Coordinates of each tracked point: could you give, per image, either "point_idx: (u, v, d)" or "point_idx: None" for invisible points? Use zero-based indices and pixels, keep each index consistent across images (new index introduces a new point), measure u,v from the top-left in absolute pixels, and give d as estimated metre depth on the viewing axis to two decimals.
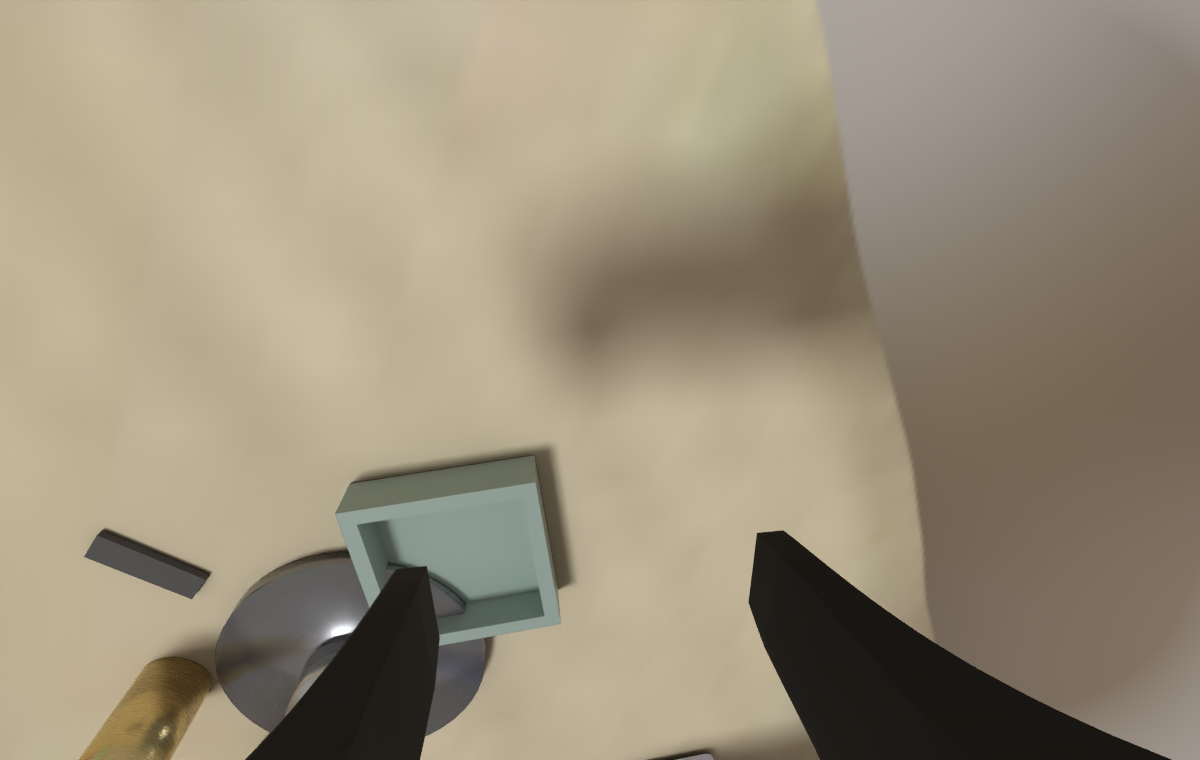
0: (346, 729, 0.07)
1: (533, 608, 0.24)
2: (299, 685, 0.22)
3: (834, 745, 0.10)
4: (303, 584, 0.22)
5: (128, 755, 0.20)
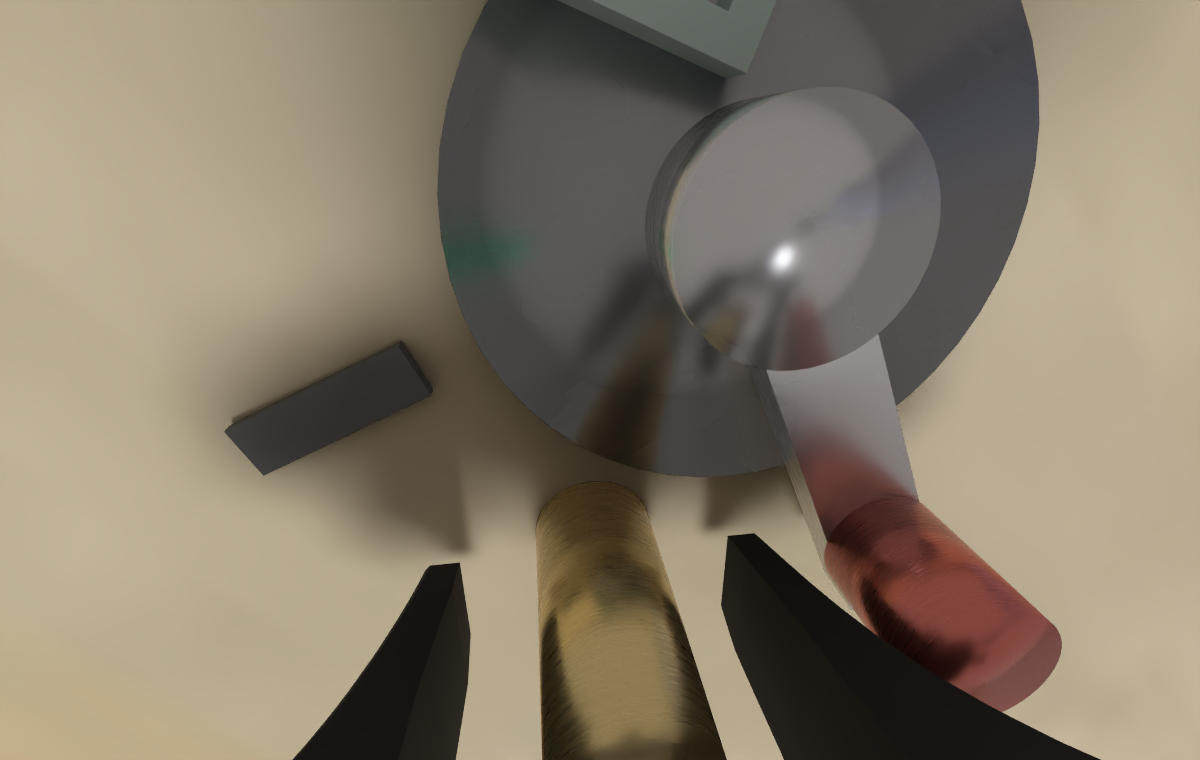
0: (397, 722, 0.07)
1: None
2: (669, 281, 0.09)
3: (798, 750, 0.10)
4: (471, 155, 0.09)
5: (580, 627, 0.09)
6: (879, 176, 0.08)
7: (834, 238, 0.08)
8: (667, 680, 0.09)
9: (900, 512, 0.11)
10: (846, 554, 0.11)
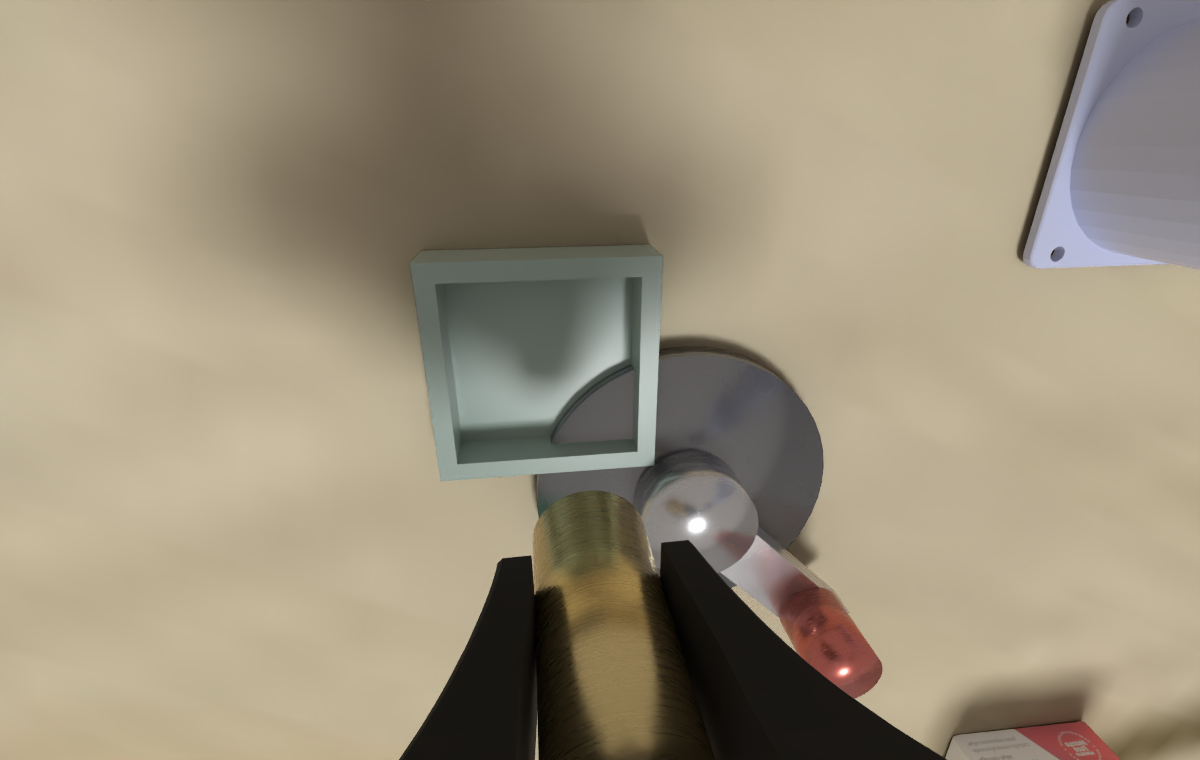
0: (506, 708, 0.08)
1: (638, 287, 0.17)
2: None
3: None
4: None
5: (570, 642, 0.10)
6: (719, 503, 0.18)
7: (711, 527, 0.19)
8: (654, 692, 0.09)
9: (806, 600, 0.21)
10: (786, 626, 0.21)
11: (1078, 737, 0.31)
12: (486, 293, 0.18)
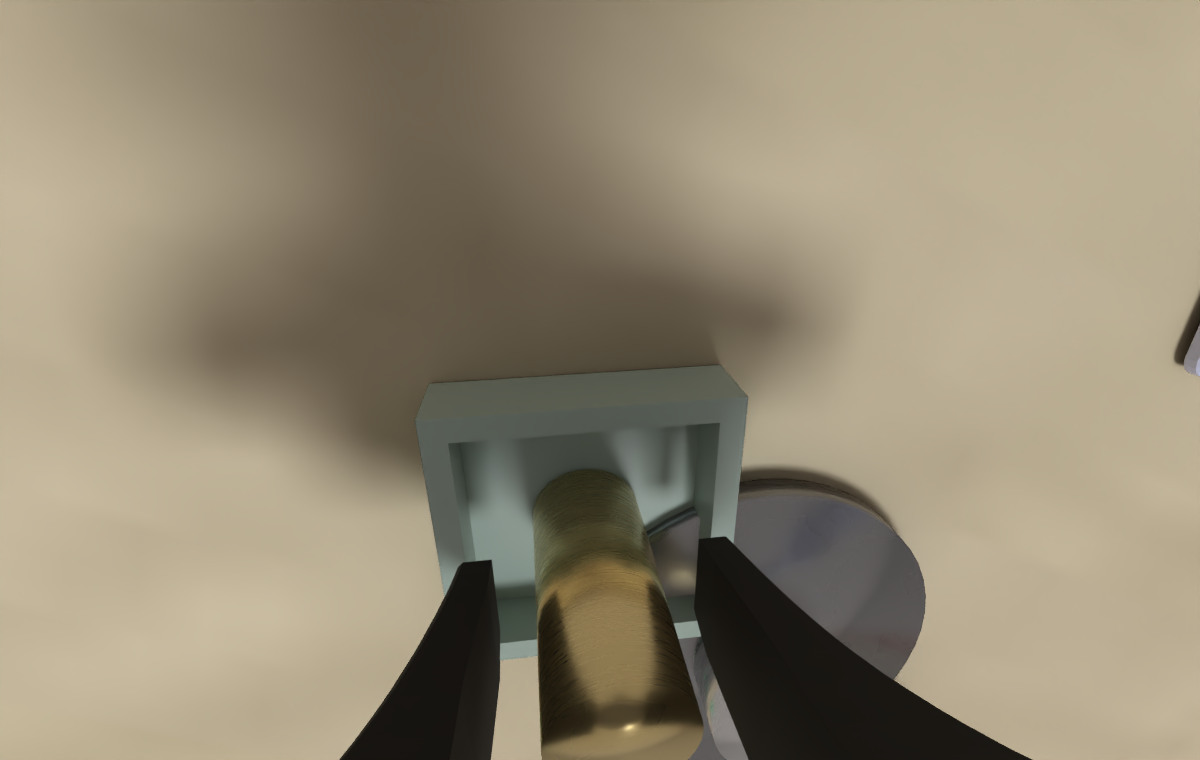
0: (446, 716, 0.08)
1: (711, 429, 0.13)
2: None
3: (762, 756, 0.10)
4: None
5: (567, 606, 0.11)
6: None
7: None
8: (644, 649, 0.10)
9: None
10: None
11: None
12: None
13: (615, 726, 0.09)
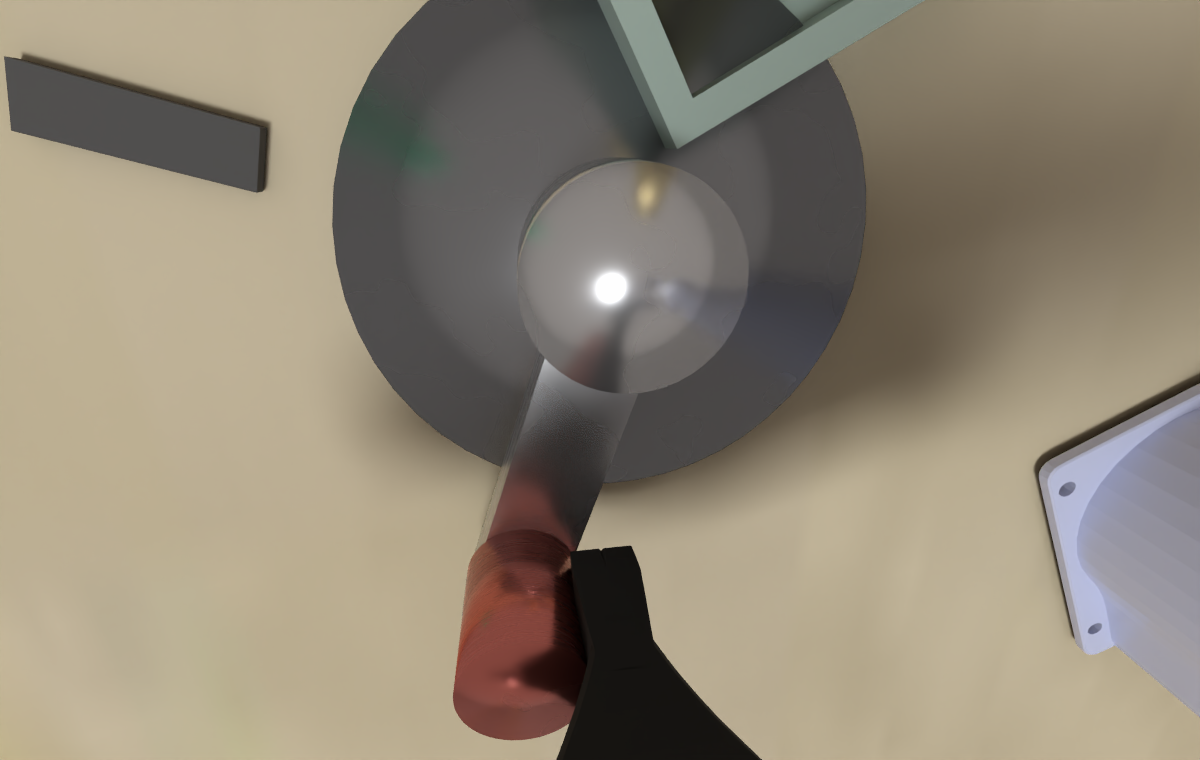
0: (656, 689, 0.08)
1: None
2: (525, 234, 0.09)
3: None
4: (446, 31, 0.10)
5: None
6: (708, 283, 0.10)
7: (653, 299, 0.10)
8: None
9: (554, 551, 0.12)
10: (491, 556, 0.11)
11: None
12: None
13: None
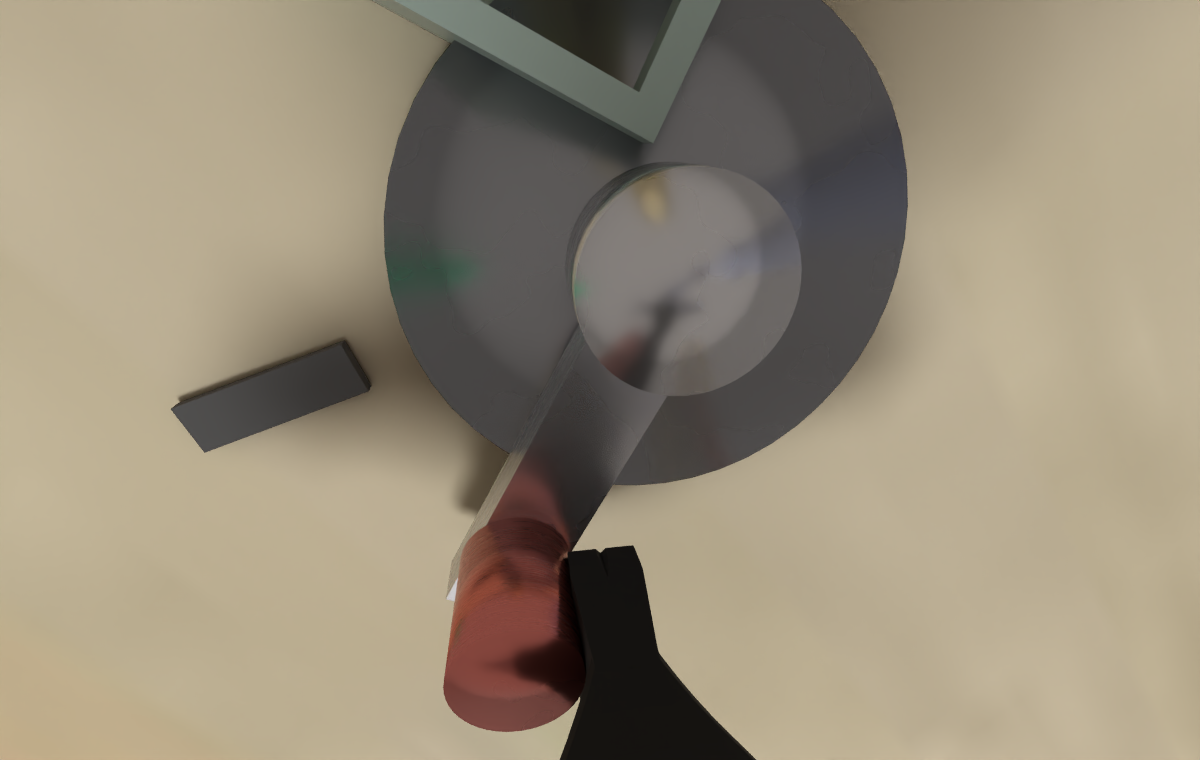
0: (658, 689, 0.08)
1: None
2: (591, 220, 0.09)
3: None
4: (416, 185, 0.10)
5: None
6: (759, 298, 0.10)
7: (704, 305, 0.10)
8: None
9: (555, 543, 0.12)
10: (493, 540, 0.11)
11: None
12: None
13: None
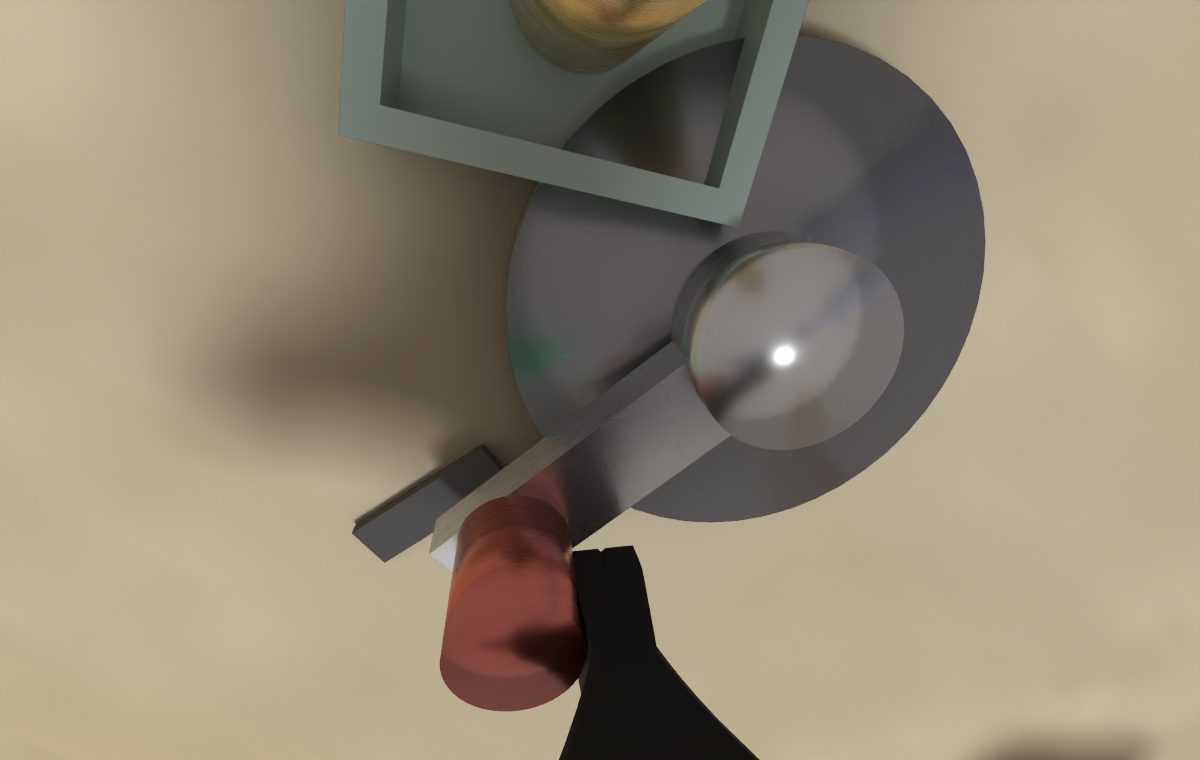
0: (658, 689, 0.08)
1: None
2: (748, 260, 0.10)
3: None
4: (529, 308, 0.12)
5: None
6: (850, 387, 0.11)
7: (807, 374, 0.11)
8: None
9: (567, 537, 0.12)
10: (516, 513, 0.11)
11: None
12: None
13: None
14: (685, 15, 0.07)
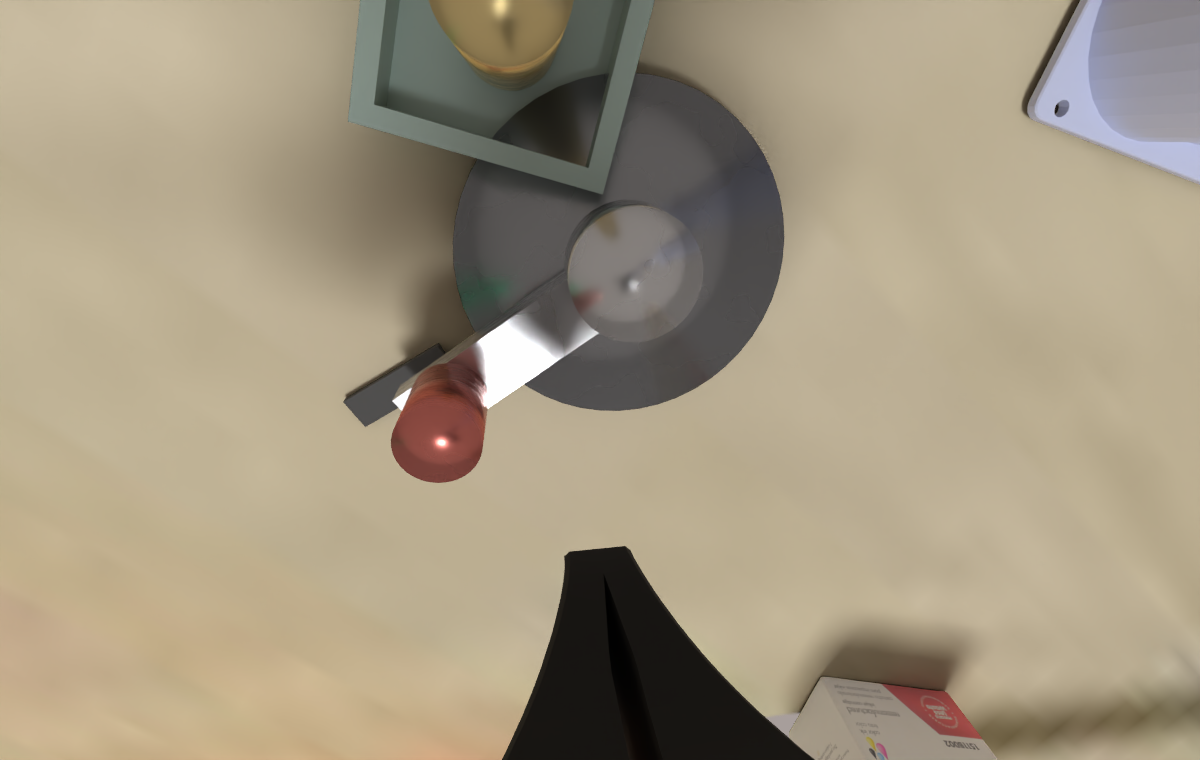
0: (605, 696, 0.08)
1: None
2: (603, 213, 0.16)
3: None
4: (469, 243, 0.17)
5: None
6: (670, 301, 0.17)
7: (640, 290, 0.16)
8: None
9: (484, 393, 0.17)
10: (450, 370, 0.17)
11: (939, 703, 0.30)
12: None
13: None
14: (534, 68, 0.12)
